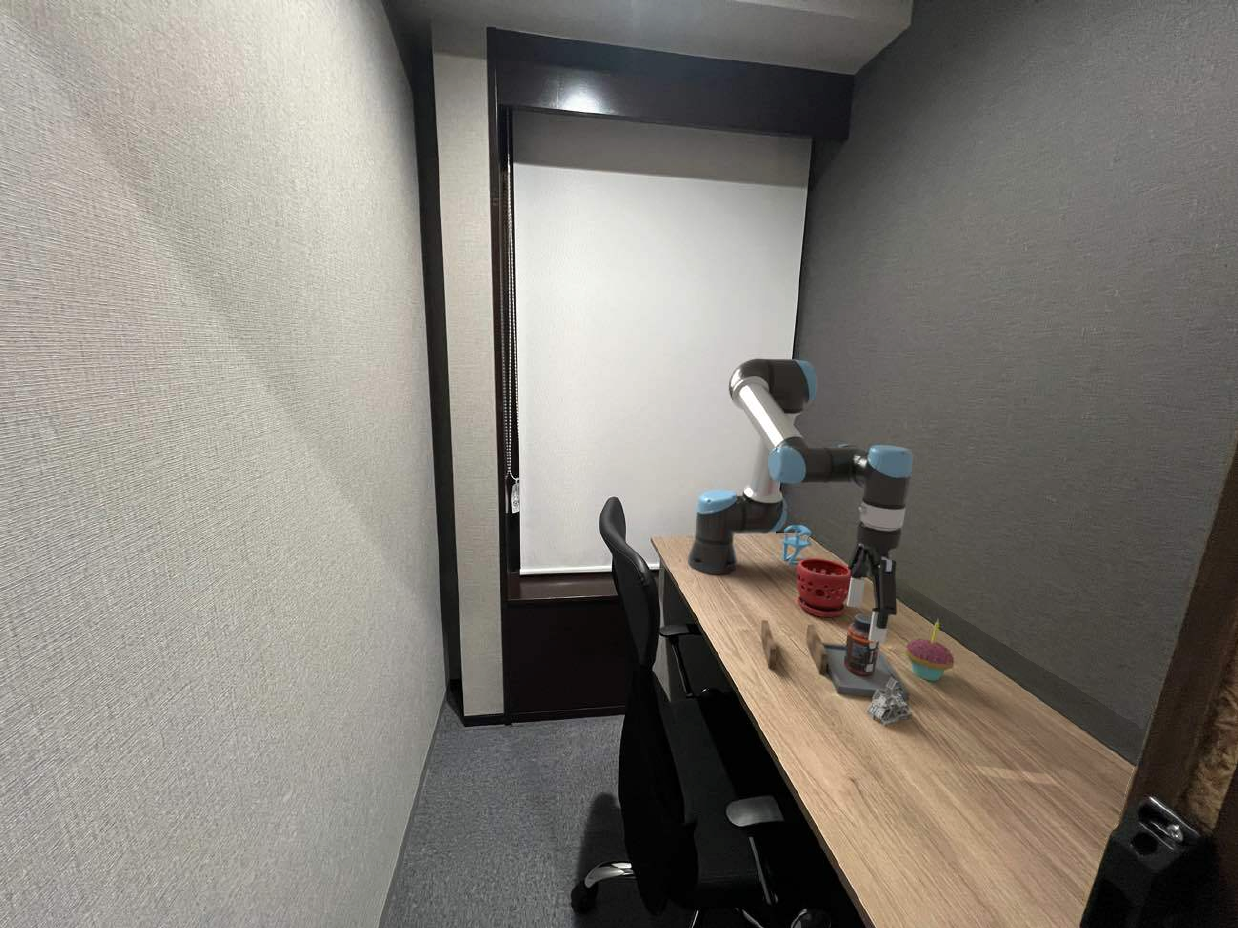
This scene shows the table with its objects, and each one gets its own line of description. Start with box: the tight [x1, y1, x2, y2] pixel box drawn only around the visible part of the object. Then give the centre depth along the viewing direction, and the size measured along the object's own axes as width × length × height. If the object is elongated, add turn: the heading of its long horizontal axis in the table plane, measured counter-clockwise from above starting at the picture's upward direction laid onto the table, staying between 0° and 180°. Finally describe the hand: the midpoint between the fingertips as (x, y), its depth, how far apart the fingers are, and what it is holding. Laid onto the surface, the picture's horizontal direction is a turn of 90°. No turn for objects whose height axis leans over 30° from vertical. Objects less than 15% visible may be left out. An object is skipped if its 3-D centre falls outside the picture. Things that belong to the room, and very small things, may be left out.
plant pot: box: [796, 557, 852, 618], centre depth 130 cm, size 13×13×12 cm
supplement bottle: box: [844, 613, 880, 675], centre depth 103 cm, size 6×6×11 cm
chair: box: [781, 524, 812, 565], centre depth 162 cm, size 8×8×12 cm
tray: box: [821, 641, 910, 702], centre depth 104 cm, size 16×13×2 cm
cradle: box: [760, 620, 828, 675], centre depth 109 cm, size 12×11×4 cm
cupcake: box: [905, 618, 955, 682], centre depth 103 cm, size 9×8×12 cm
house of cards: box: [866, 677, 914, 727], centre depth 93 cm, size 9×9×8 cm
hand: (864, 622), depth 103 cm, fingers open, 13 cm apart
